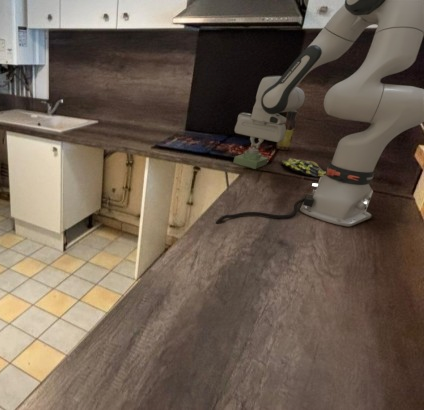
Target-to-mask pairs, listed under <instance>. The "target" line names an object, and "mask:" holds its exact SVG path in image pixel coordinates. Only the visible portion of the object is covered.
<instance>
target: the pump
mask: <svg viewBox="0 0 424 410" xmlns="http://www.w3.org/2000/svg"><path fill="white" fill-rule="evenodd" d="M247 151H248V153H250V154H258V152H259V151H260V150H259V148H253V147H249V148H248V150H247Z"/></svg>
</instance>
